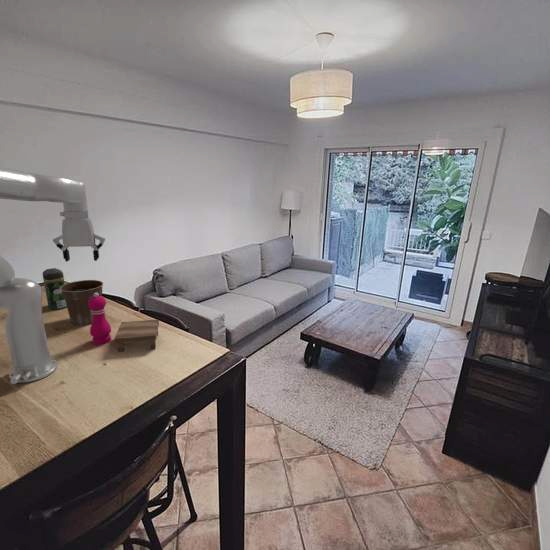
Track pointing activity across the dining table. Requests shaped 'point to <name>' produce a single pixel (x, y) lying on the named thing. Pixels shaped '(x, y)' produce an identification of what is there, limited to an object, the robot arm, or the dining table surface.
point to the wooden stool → (137, 333)
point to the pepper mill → (99, 320)
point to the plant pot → (80, 299)
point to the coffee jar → (54, 288)
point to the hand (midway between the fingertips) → (82, 260)
